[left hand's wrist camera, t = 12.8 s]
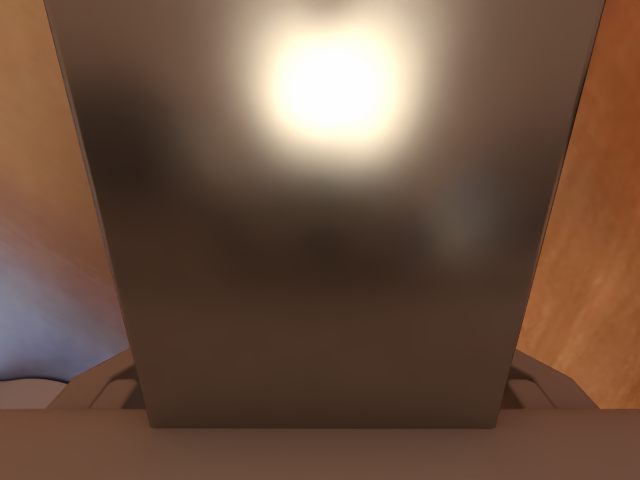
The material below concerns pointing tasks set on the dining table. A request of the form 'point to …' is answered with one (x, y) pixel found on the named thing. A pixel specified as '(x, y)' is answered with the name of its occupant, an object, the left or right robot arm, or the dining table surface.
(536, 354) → the dining table surface
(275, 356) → the bar
